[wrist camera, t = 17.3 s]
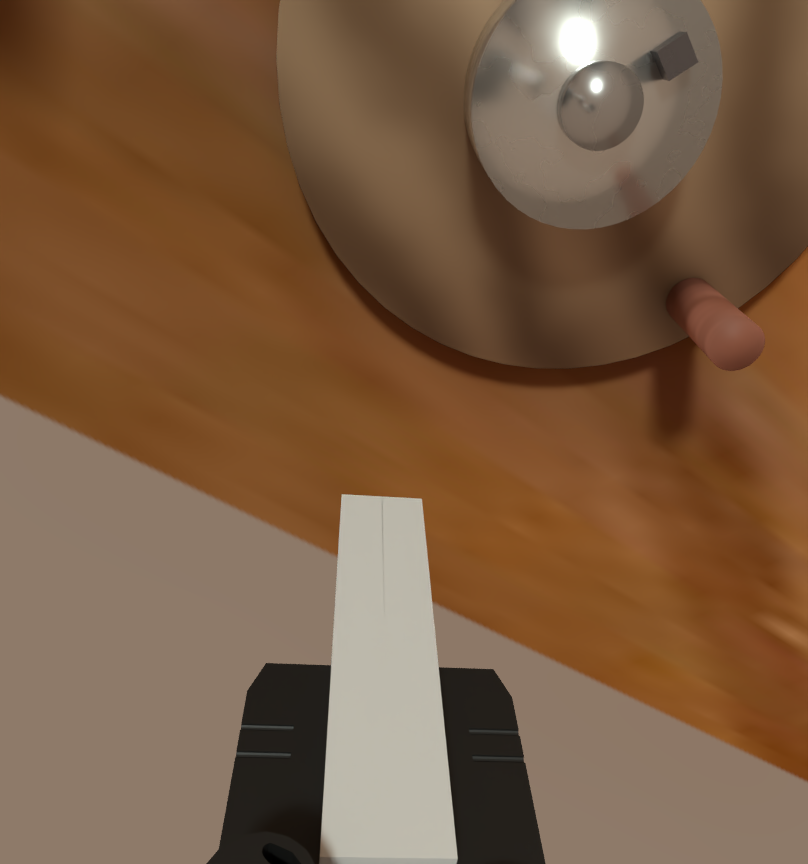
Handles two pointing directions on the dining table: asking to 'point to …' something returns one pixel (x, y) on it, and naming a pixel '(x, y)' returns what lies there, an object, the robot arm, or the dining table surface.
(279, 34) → the turntable
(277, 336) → the dining table surface
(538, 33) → the cover
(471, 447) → the dining table surface
